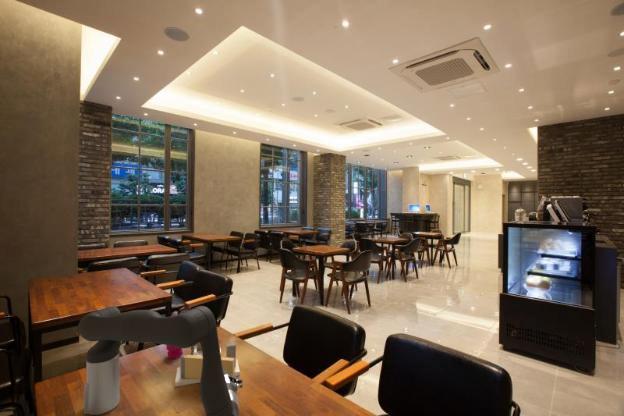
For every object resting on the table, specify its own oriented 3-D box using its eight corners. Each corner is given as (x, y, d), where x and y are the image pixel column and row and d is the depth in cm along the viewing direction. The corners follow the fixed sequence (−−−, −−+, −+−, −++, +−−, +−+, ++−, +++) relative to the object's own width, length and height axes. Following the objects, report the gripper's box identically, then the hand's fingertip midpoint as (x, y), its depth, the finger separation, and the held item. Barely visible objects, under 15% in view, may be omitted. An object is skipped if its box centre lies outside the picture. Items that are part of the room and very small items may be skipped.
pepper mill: (167, 352, 140) (167, 309, 139) (184, 350, 142) (184, 308, 141) (165, 360, 133) (165, 315, 132) (182, 358, 135) (183, 313, 134)
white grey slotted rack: (174, 386, 114) (175, 359, 114) (177, 371, 125) (177, 345, 124) (239, 375, 122) (239, 349, 122) (236, 361, 133) (237, 337, 132)
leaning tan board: (179, 377, 117) (179, 357, 117) (182, 374, 120) (182, 354, 119) (232, 381, 115) (232, 361, 115) (234, 377, 118) (234, 357, 117)
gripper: (247, 386, 98) (241, 359, 114) (203, 394, 94) (204, 365, 110) (246, 409, 98) (240, 379, 114) (203, 418, 94) (203, 385, 110)
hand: (222, 372), depth 112 cm, fingers closed
